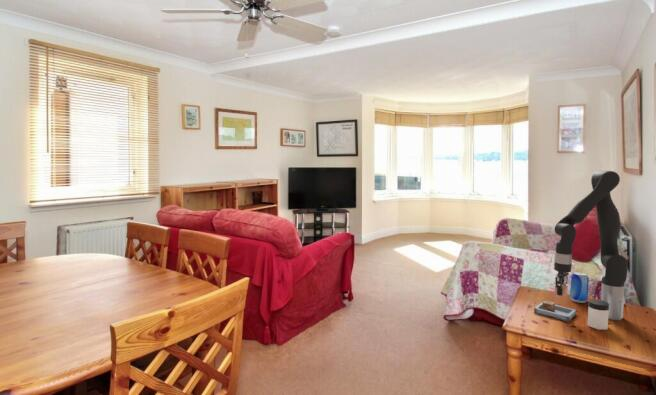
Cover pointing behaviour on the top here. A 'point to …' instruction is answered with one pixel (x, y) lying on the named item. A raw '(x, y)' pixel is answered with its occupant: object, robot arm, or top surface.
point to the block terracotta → (564, 290)
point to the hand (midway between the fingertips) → (561, 293)
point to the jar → (598, 314)
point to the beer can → (579, 287)
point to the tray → (556, 312)
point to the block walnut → (549, 306)
